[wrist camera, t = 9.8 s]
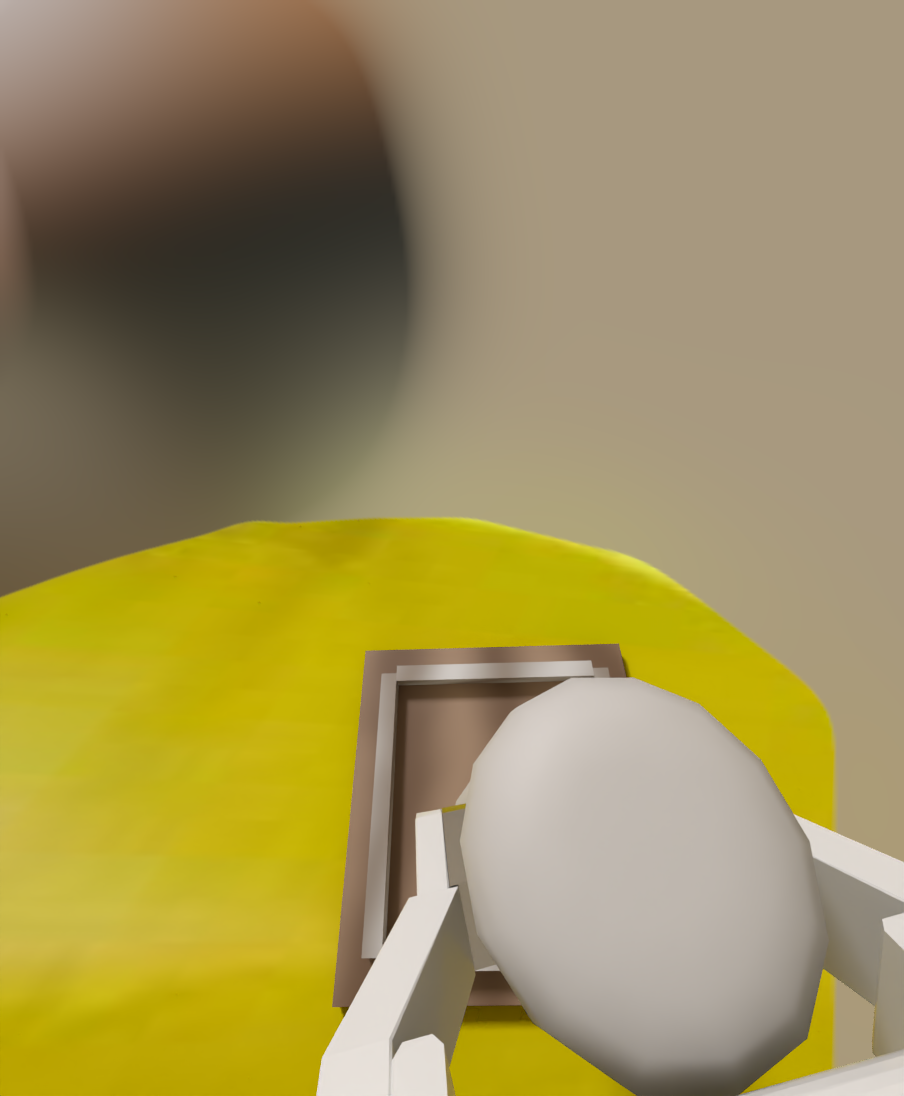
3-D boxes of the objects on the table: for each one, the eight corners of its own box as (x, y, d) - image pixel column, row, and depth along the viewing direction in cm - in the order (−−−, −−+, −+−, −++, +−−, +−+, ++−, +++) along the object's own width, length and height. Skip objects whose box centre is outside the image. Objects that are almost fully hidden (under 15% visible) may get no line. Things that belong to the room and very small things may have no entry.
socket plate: (337, 999, 22) (325, 1016, 20) (368, 655, 31) (362, 645, 30) (693, 996, 21) (714, 1013, 20) (614, 648, 31) (623, 637, 29)
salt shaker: (633, 806, 16) (940, 716, 5) (591, 1003, 13) (1081, 1653, 2) (488, 734, 18) (505, 558, 7) (423, 895, 15) (285, 1002, 4)
